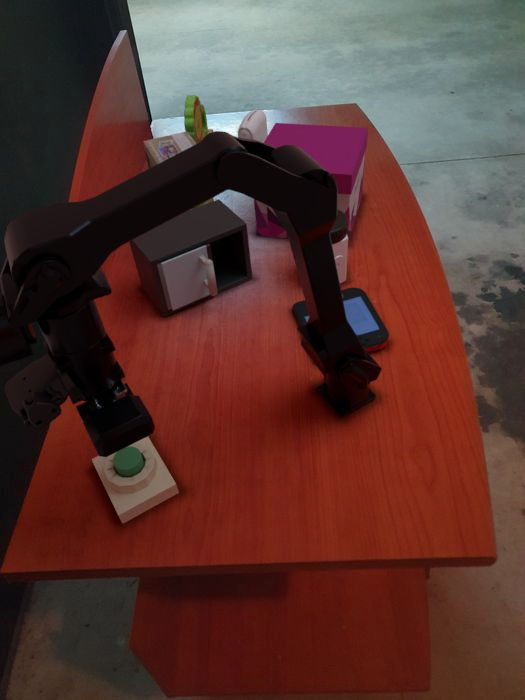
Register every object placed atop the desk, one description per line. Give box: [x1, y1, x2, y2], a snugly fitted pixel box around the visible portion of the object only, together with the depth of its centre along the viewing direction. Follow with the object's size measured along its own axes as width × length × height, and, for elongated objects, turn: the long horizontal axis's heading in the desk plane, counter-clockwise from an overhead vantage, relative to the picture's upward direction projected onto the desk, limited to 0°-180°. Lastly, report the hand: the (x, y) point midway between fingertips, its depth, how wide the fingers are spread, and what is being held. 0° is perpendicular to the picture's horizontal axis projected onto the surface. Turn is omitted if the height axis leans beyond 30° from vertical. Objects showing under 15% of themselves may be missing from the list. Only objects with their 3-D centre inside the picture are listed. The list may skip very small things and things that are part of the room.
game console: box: [292, 287, 390, 353], centre depth 94 cm, size 14×13×2 cm
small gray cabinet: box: [129, 199, 253, 318], centre depth 102 cm, size 10×18×12 cm, turn 122°
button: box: [113, 446, 144, 477], centre depth 74 cm, size 4×4×2 cm
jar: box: [330, 210, 349, 285], centre depth 101 cm, size 9×8×12 cm
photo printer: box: [237, 109, 269, 143], centre depth 132 cm, size 10×4×12 cm, turn 160°
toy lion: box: [183, 94, 214, 144], centre depth 136 cm, size 16×5×15 cm, turn 176°
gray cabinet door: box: [161, 244, 218, 310], centre depth 96 cm, size 4×9×10 cm, turn 122°
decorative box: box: [253, 122, 369, 242], centre depth 114 cm, size 19×19×15 cm
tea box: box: [143, 131, 215, 210], centre depth 118 cm, size 15×10×15 cm, turn 22°
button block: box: [91, 436, 180, 525], centre depth 75 cm, size 10×8×4 cm
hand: (114, 427), depth 68 cm, fingers closed
